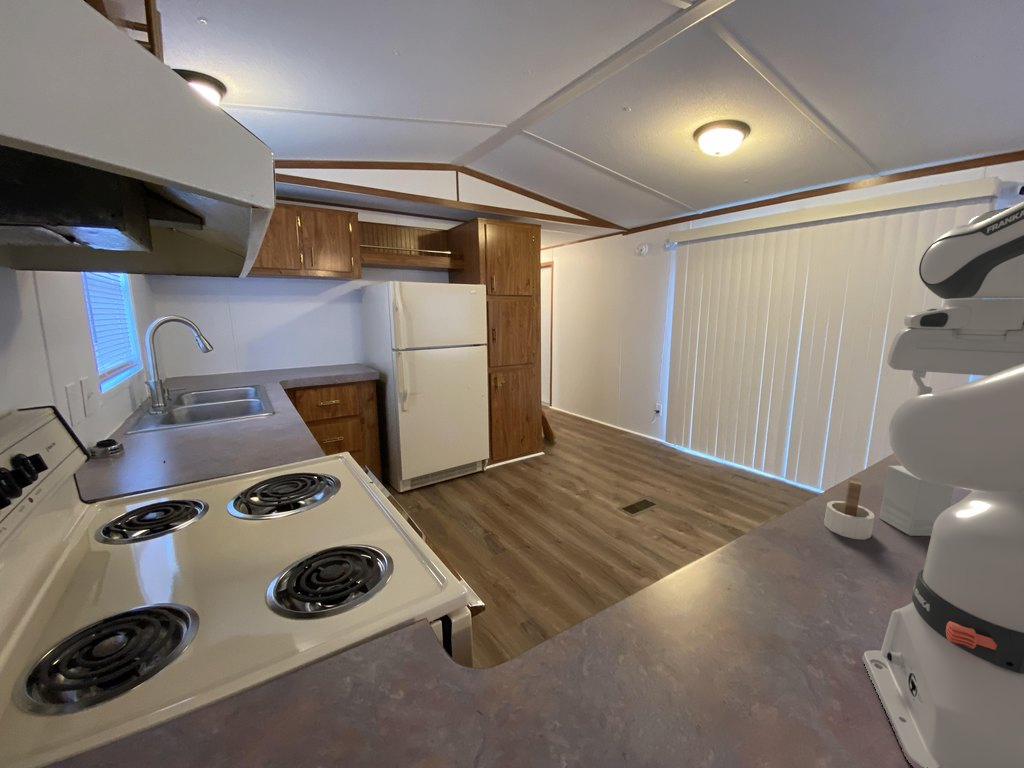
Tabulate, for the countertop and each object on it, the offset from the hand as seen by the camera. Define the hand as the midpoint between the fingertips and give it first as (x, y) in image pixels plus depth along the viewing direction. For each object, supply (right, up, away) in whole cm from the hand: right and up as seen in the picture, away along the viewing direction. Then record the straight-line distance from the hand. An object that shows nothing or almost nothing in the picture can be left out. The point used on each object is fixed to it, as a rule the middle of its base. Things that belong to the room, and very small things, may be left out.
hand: (962, 400), depth 68 cm
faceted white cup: (-5, -28, +18) cm, 34 cm away
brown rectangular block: (-5, -27, +18) cm, 33 cm away
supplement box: (+10, -28, +19) cm, 35 cm away
